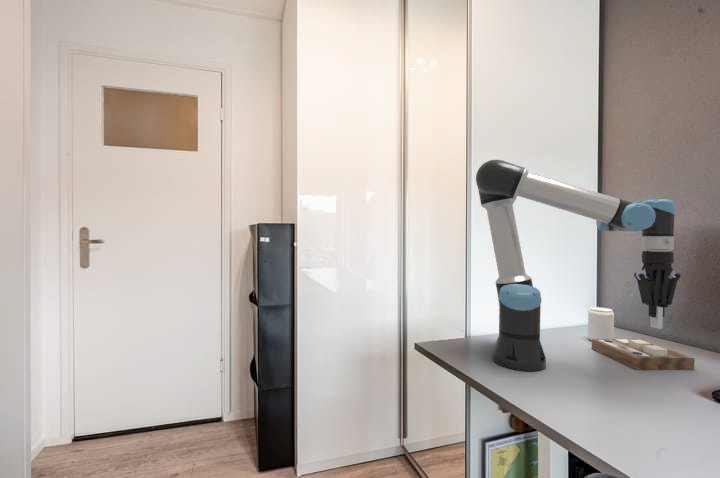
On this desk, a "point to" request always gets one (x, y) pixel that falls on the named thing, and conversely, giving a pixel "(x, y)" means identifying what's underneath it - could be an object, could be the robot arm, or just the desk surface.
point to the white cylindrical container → (600, 323)
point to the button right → (655, 351)
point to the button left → (622, 341)
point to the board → (642, 356)
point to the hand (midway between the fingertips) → (656, 327)
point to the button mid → (637, 344)
